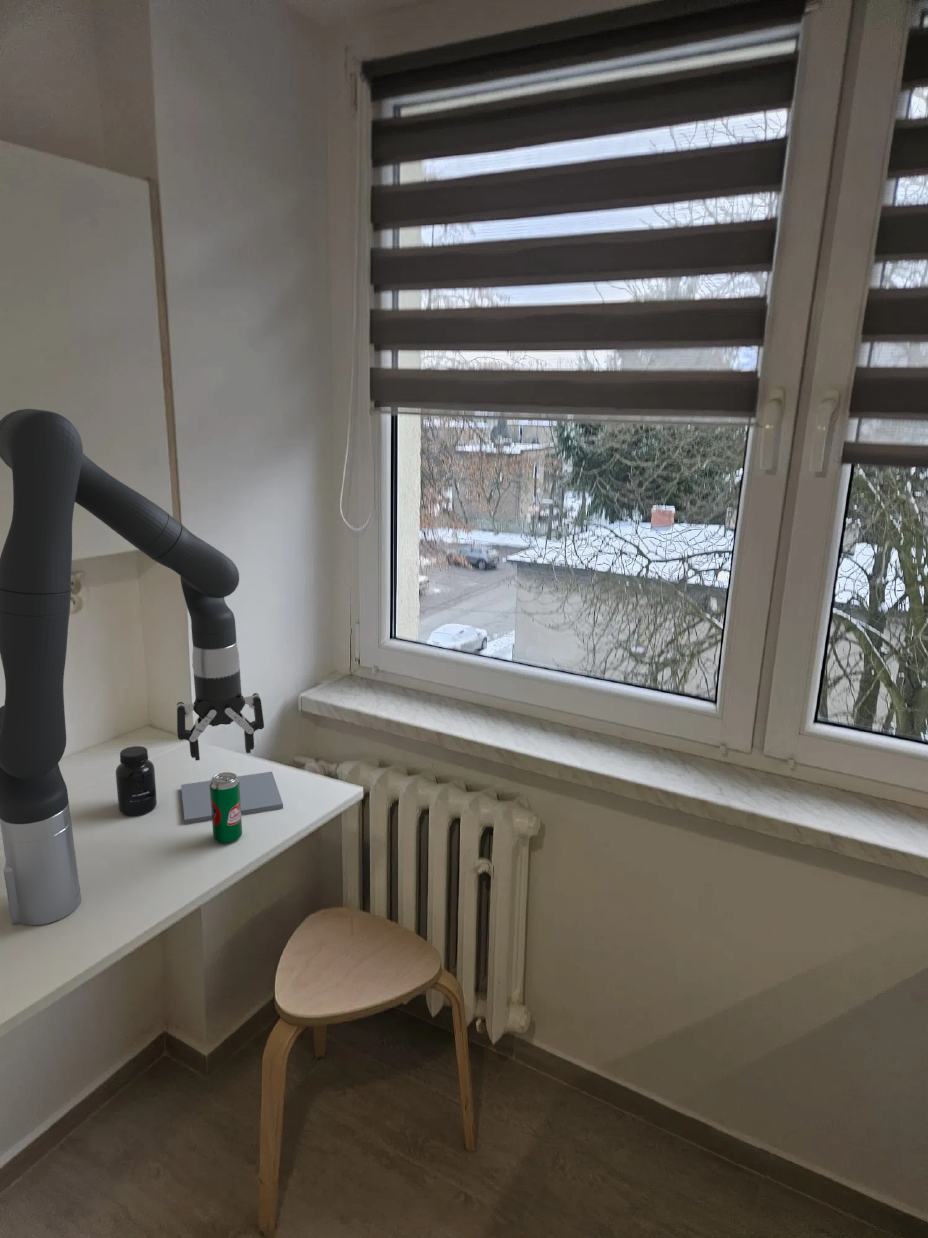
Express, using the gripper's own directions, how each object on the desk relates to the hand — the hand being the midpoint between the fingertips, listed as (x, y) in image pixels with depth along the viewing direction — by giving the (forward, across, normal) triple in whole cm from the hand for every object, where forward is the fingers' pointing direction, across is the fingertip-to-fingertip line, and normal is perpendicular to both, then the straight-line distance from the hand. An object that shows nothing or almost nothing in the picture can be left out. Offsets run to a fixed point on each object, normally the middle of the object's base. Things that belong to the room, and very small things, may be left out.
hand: (223, 755), depth 137 cm
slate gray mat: (+16, +2, +14) cm, 22 cm away
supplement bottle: (+17, -15, +16) cm, 28 cm away
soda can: (+17, 0, 0) cm, 17 cm away
